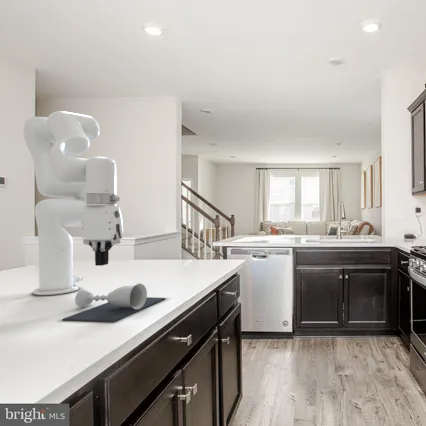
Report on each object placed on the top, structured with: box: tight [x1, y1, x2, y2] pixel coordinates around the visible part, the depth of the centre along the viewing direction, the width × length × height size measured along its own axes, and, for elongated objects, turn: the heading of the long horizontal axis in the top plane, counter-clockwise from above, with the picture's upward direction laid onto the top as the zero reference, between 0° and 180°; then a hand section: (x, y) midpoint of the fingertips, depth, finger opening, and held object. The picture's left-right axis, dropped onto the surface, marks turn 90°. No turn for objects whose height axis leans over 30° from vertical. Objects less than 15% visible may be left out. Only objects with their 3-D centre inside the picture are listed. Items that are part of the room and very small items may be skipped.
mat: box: [62, 296, 166, 323], centre depth 105 cm, size 24×14×1 cm, turn 173°
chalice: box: [74, 283, 148, 309], centre depth 104 cm, size 7×7×18 cm
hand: (101, 264), depth 106 cm, fingers closed
